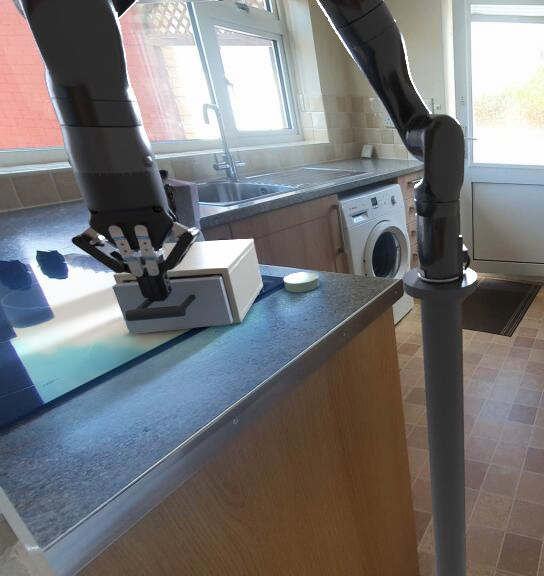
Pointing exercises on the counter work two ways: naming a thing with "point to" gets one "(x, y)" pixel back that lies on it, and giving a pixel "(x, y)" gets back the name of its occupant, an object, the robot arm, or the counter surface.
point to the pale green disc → (301, 282)
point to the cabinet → (220, 270)
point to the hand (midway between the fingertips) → (159, 299)
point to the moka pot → (182, 203)
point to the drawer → (176, 304)
